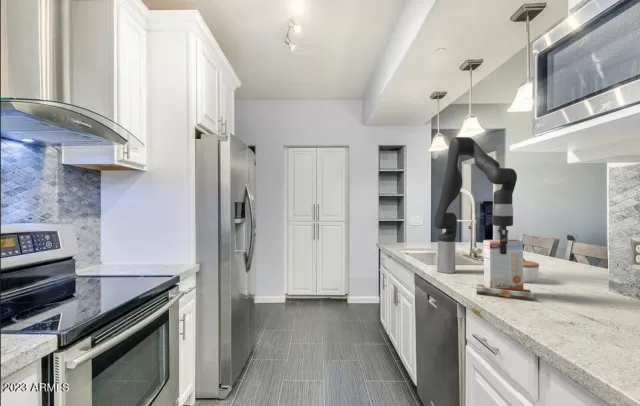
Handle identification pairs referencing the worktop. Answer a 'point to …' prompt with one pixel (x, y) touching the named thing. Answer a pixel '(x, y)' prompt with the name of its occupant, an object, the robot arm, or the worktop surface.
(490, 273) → the cracker box
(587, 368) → the worktop surface
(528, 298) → the brown book
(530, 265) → the lidded bowl
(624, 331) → the worktop surface
